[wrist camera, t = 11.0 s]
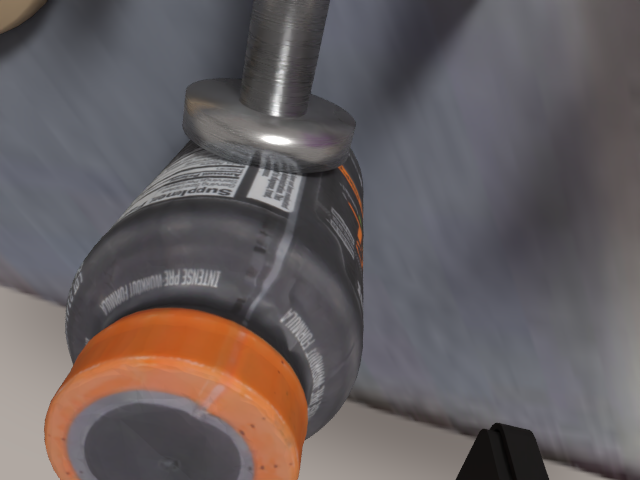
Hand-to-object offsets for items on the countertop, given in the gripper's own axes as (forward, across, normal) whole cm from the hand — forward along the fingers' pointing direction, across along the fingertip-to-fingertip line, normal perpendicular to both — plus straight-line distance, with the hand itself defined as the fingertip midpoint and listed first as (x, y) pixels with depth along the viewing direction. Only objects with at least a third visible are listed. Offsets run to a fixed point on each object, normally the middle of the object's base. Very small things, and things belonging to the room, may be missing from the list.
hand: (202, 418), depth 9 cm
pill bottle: (+10, 0, 0) cm, 10 cm away
